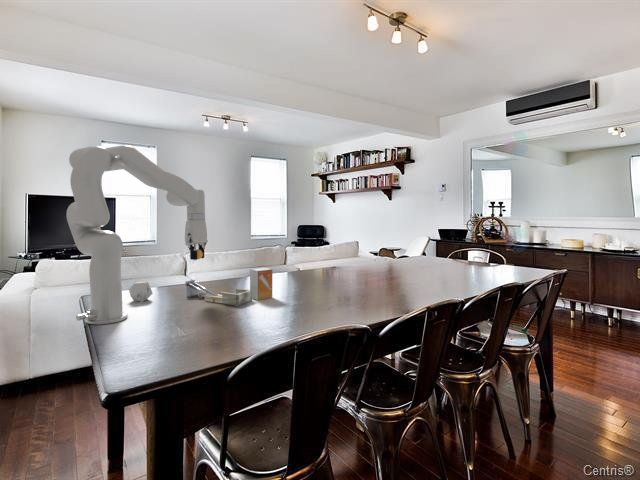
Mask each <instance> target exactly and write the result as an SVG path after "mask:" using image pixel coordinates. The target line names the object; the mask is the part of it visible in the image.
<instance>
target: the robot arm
mask: <svg viewBox="0 0 640 480" xmlns="http://www.w3.org/2000/svg"><path fill="white" fill-rule="evenodd" d="M68 162H69V164H70V165H69V166H71V168H72V171H71V174H70V181H69V182H70V189H71V193H72V195H73V199H74V202H72V203H70V204H69V205H68V207H67V209H66V221H67V224H68V228H69V230H70V233H71V235H72V238H73V241H74V243H75V246H76V248H77V250H78V251H79V252H80V253H81V254H83V255H85V256H90V257H91V258H90V262H89V263H90V264H89V269H88V270H89V273H88V274H89V292H90V308H88V309H87V311H85V313H80V314H77V315H76V316H75V319H76V321H82V320H85V321H86V323H87V324H89V325H95V326H97V325H108V324H109V325H110V324H114V323H119V322H122V321H124V320H126V319H127V318H128V313H127V312H125V311H123V291H122V289H123V287H122V286H123V285H122V255H123V249H124V246H123V244H124V243H123V241H122V238H121V236H120V235H119V234H118V233H116V232H114V231H111V230H106V229H105V230H103V229H102V228H101V227H104V226H106V225H107V224H108V223H109V221H110V219H111V214H110V211H109V208H108V205H107V202H106V201H107V200H106V198H105V195H104V192H103V187H102V179H103V178H102V177H103V175H104V173H105V172H111V171H119V170H124V171H126V172H127V173H128V174H129V175H131V176H132V177H135V178H136V179H138V180H139V181H140V182H141V183H142V184H144V185H146V186H148V187H150V188H154V189H159V190H162V191H166V196H165V198H166V201H167V202H168V203H169V204H170V205H172V206H176V207H183V206H184V207H185V206H186V221H185V227H184V242H185V243H184V244H185V246H187V248H188V250H189V256H190V260H193V261H197V260H198V259H197V251H196V249H199V250H201V251H202V253H203V256H202V257H201V258H200V259H205V249H206V245H207V243H209V241H208V231H207V222H206V202H205V201H206V200H205V198H206V196H205V191H204V190H203V189H200V188H194V186H192V185H191V184H190V183H189V182H188V181H186V180H185V179H184V178H182V177H180V176H178V175H176V174H175V173H171V172H169V171H168V170H165V169H164V168H161V167H160V166H158V165H157V164H156V163H154V161H152V160H150V159H149V158H148V157H147V156H145V154H143V153H141V151H139V150H138V149H136V148H135V147H133V146H132V145H128V144H123V145H116V146H110V147H103V146H101V145H100V146H99V145H92V146H86V147H81V148H77V149H75V150H73V151H71V153H70V154H69V158H68Z"/></svg>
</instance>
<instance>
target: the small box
mask: <svg viewBox="0 0 640 480" xmlns="http://www.w3.org/2000/svg"><path fill="white" fill-rule="evenodd" d="M249 290H252V300H257V301H260V300H265V299H271V298H273V269H272V268H268V267H260V268H258V267H257V268H251V269H249Z"/></svg>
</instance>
